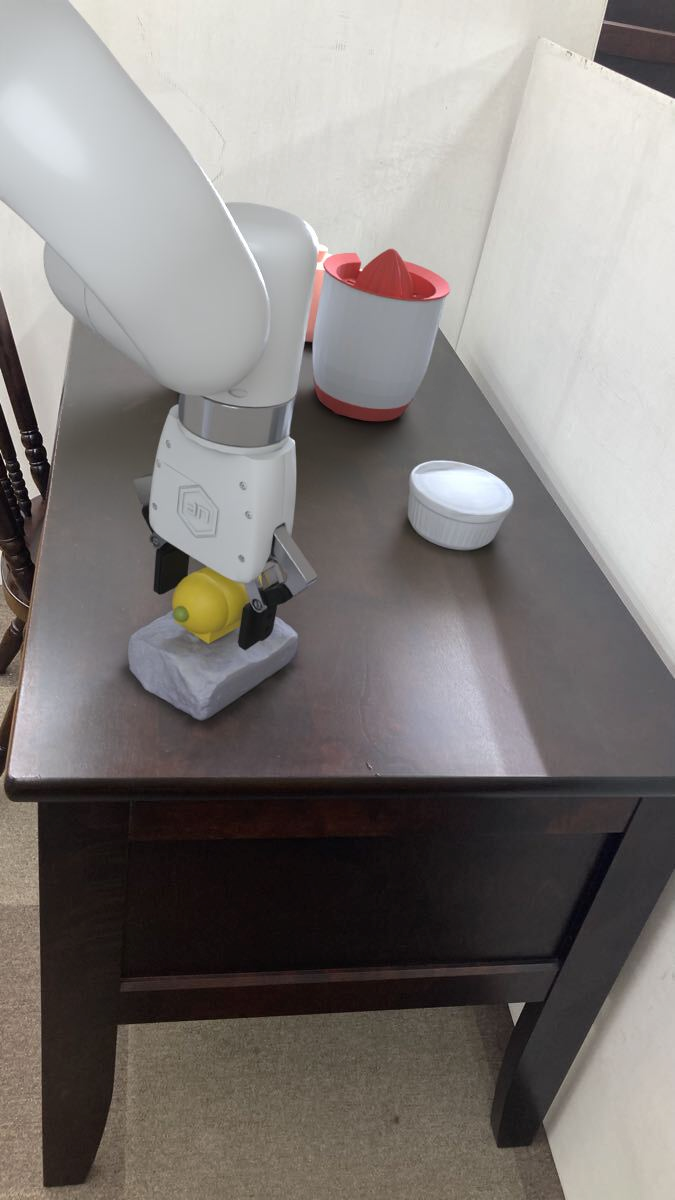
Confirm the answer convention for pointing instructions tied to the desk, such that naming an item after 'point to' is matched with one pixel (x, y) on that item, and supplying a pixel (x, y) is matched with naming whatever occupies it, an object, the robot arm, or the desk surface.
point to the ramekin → (457, 504)
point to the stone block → (204, 664)
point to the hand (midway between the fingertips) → (211, 612)
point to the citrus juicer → (374, 333)
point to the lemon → (209, 604)
